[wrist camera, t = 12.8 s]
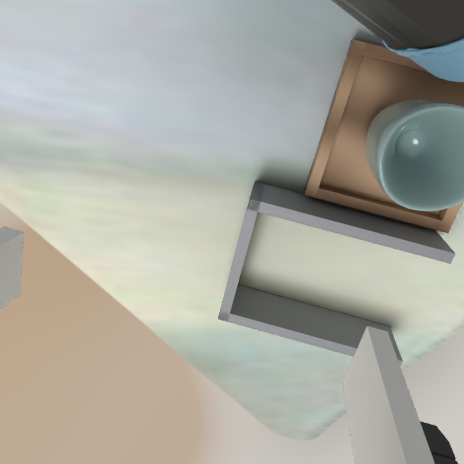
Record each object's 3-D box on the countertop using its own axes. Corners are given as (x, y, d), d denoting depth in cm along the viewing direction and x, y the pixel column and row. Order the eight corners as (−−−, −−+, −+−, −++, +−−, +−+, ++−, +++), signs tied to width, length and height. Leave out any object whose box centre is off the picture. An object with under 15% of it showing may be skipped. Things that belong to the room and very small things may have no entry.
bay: (255, 181, 43) (249, 198, 38) (434, 228, 43) (455, 253, 37) (226, 289, 48) (217, 318, 43) (386, 333, 48) (398, 368, 42)
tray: (351, 40, 38) (354, 39, 36) (508, 80, 37) (519, 81, 35) (304, 189, 43) (305, 195, 41) (441, 225, 43) (447, 233, 41)
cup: (450, 89, 38) (501, 99, 28) (442, 176, 40) (487, 210, 31) (358, 97, 39) (379, 108, 30) (356, 181, 42) (375, 215, 32)
